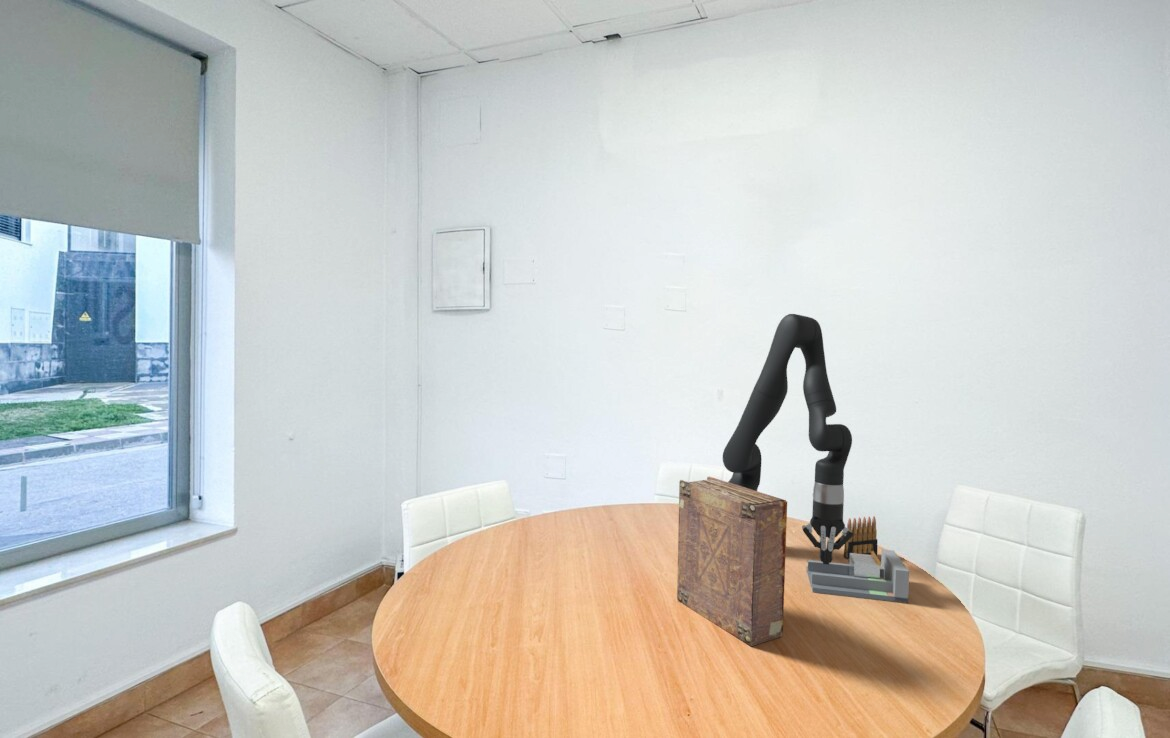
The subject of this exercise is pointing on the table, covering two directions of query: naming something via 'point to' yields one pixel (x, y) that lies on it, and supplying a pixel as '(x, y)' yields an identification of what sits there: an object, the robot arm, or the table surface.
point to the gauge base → (862, 580)
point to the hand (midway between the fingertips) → (825, 563)
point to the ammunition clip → (861, 537)
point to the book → (732, 557)
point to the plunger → (864, 565)
